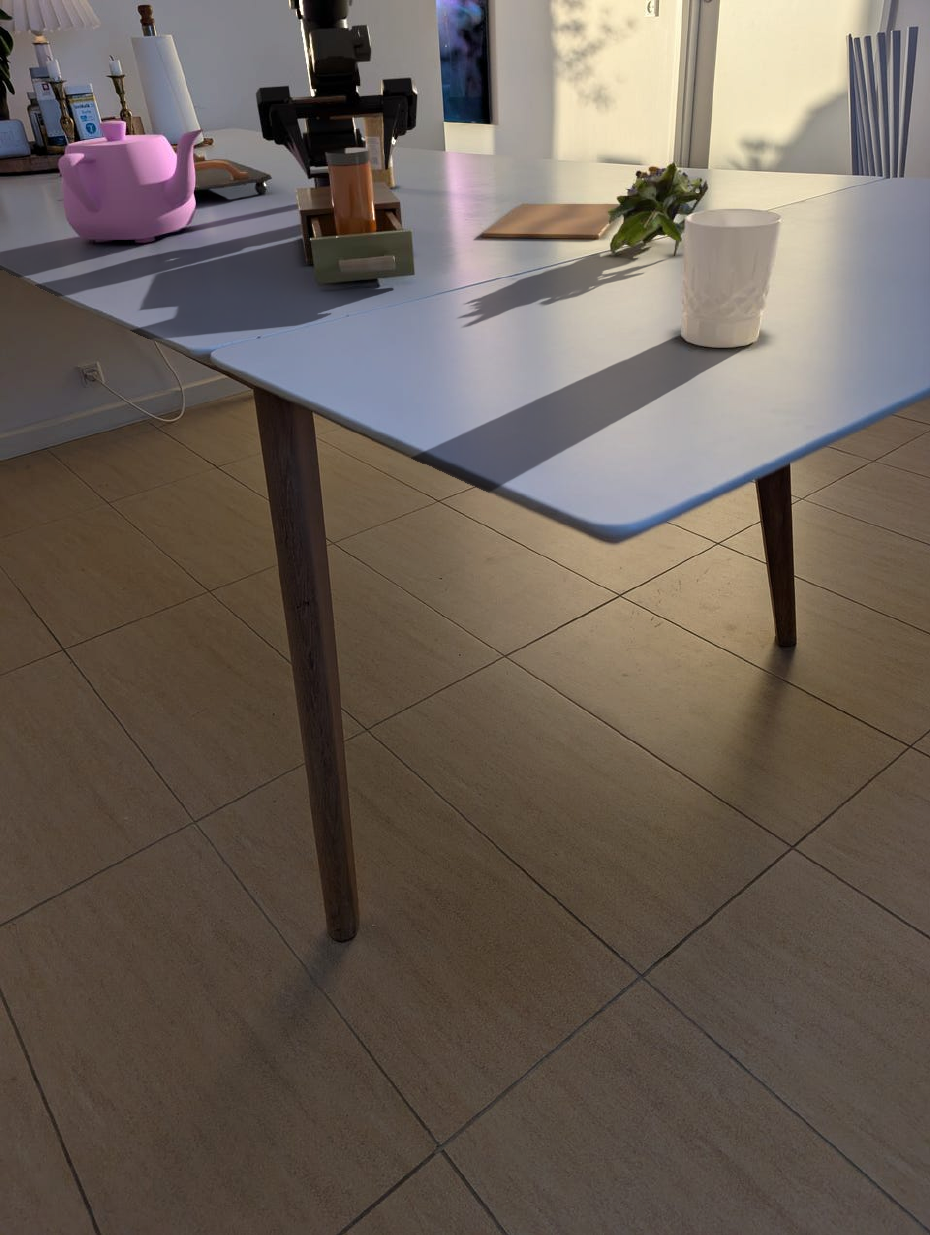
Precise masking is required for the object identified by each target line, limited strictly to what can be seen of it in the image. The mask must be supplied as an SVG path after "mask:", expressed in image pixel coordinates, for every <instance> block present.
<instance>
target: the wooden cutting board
mask: <svg viewBox="0 0 930 1235" xmlns="http://www.w3.org/2000/svg"><path fill="white" fill-rule="evenodd" d="M619 205H620V203H521V204H519V205H518V206H517V207H516V208H514V209H513V210H511V211H510V212H509V213H508V214H506V215H505V216H504V217H502V218H501V219H499V220H498V221H496V222H495V223H494V224H493V225H492V226H490V227H489V228H487V229H486V230H485V231H483V232H482V233H481V238H514V239H515V238H516V239H517V238H519V239H520V238H521V239H524V238H525V239H526V238H527V239H586V240H587V239H591V240H593V239H594V240H595V239H596V240H597V239H598V240H599V239H601V237H602V236H603V234H604V233H605V232H606V231H607V230H608V229H609V227H610V226H611V225H612V224H613V223H614V221H612V222H611V224H609V218H610V216H611V215H609V214H608V209H613V208H616V207H618V206H619Z"/></svg>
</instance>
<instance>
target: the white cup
mask: <svg viewBox="0 0 930 1235" xmlns="http://www.w3.org/2000/svg"><path fill="white" fill-rule="evenodd" d="M684 219H685V220H684ZM684 219H683V220H684V231H683V246H682V248H683V250H682V268H681V306H682V312H681V326H680V328H681V329H680V336H681V338H682V339H683V340H684V341H686V342H687V343H689V344H693V345H696V346H699V347H707V348H719V349H720V348H721V349H722V348H725V349H726V348H737V347H743V346H748V345H750V344H752V343H755V342H757V341H758V339H759V334H760V330H761V324H762V318H763V314H764V310H765V308H766V305H767V299H768V294H769V292H770V286H771V280H772V279H771V278H772V275H773V272H774V267H775V261H776V254H777V249H778V242H779V238H780V232H781V228H782V222H783V217H782V215H780V214H778V213H777V212H773V211H769V210H763V209H751V208H717V209H707V210H701V211H696V212H692V214H689V215H685V217H684Z"/></svg>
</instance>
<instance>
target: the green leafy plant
mask: <svg viewBox="0 0 930 1235" xmlns="http://www.w3.org/2000/svg"><path fill="white" fill-rule="evenodd" d="M647 170H648V172H647V171H642V170H637V171H636V172H635V177H636V179H635V180H634V182H633V183H632V185H631V186H630V187H629V188H624V189H625V190H627V192H626V194H627V195H622V194H621V195H618V196H616V201H617V202H618V204H620V205H619V206H618V207H616V208H613V209H608V214H609V215H611V216H610V218H609V224H611V222H612V221H613V222H614V221H615V220H616V219H617V218H620V217H623V218H622V220H623V221H622V223H621V225H620V226H619V228H618V230H617V232H616V233H615V234H614V235H613V237H612V239H611V241H610V243H609V248H610V249H609V250H610V252H611V254H612V256H615V254H616V251H618V250H619V249H620V248H622V247H624V246H628V247H629V248H630V247H635V245H638V244H639V243H641V242H642V243H644V244H647V243H651V242H652V241H653V240H654V238H656V237H658V236H667V237H669V238H670V239H672V240H674V241H675V244H674V249H673V250H674V251H673V255H672V256H673V257H675V256H676V255H677V251H678V248H679V246H680V243H681V242H682V241H683V239H682V235H683V233H684V220H685V218H683V219H682V221H680V222H676V221H675V219H676V217H677V215H680V216H687V215H689V214H692V213H694V211H695V209H696V207H697V206H698V205H699V203H700V202H701V200H702V198H703V197H704V196H705V195H706V193H707V191H708V190H709V185H708V181H707V179H706V180H705V181H704V183H703V185H702V182H703V178H702V177H698V178H696V179H694V180H690V179H689V175H688V174H686V172H684V171H683V172H682V170H681V169H679V170H678V165H677V164H676V162H675V161H672V163H669V164H668V165H666V167H662V168H661V167H658V166H653V165H651V166H649V167H648V168H647ZM690 186H691V187H692V189H690V190H689V189H688V187H690ZM697 189H698V190H699V191H698V190H697ZM693 201H695V202H694V203H693V205H692V206H691V205H690V204H689V203H690V202H693ZM613 222H612V223H613ZM611 225H612V224H611Z"/></svg>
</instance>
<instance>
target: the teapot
mask: <svg viewBox="0 0 930 1235" xmlns="http://www.w3.org/2000/svg"><path fill="white" fill-rule="evenodd" d="M97 125H98V127H99V129H100V131H101V133H102V135H103V136H102V137H96V138H88V139H85V140H79V141H74V142H72V143H69V144H67V145H66V146H65V150H64V155H63V156H61V157H60V158H59V160H58V170H59V172H60V173H59V174H60V175H61V194H62V195H61V196H62V204H63V210H64V215H65V219H66V221H67V222H68V225H69V226H70V227H71V229H72V230H73V231H74V232H75V233H76V234H77V235H78V237H79V238H81V239H85V240H95V241H94V242H95V243H106V242H112V241H117V240H118V241H121V240H122V241H123V240H124V241H127V240H128V241H129V240H134V242H135V243H137V244H139V243H140V244H143V243H144V244H145V243H151V242H154V241H155V240H156V239H155V237H158V236H162V235H165V234H171V233H178V232H180V231H182V229H183V228H185V227H187V226H188V225H190V224H191V223H192V222H193V219H194V216H195V213H196V208H197V207H196V206H197V205H196V198H195V194H194V192H195V191H194V188H195V169H194V161H193V152H194V146H195V142H196V140H197V138H198V137H199V136H200V135H201V133H202V132H204V131H205V128H200V129H197V130H196V129H195V130H191V131H187V132H184V133H182V134H181V136H180V137H179V139H178V143H177V146H178V147H177V153H175V152H174V150H173V149H172V147H171V146H172V145H171V144H170V142H169V141H168V139H167V138H166V137H165V136H164V135H163V134H127V135H126V132H127V131H126V130H127V122H126V121H124V120H109V121H102V122H100V123H98V124H97Z"/></svg>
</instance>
